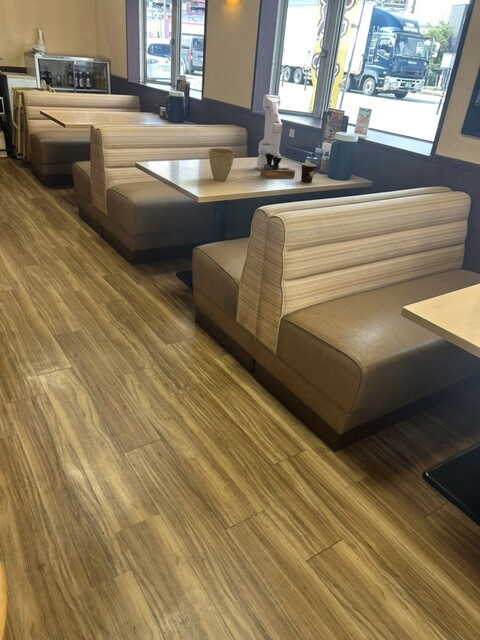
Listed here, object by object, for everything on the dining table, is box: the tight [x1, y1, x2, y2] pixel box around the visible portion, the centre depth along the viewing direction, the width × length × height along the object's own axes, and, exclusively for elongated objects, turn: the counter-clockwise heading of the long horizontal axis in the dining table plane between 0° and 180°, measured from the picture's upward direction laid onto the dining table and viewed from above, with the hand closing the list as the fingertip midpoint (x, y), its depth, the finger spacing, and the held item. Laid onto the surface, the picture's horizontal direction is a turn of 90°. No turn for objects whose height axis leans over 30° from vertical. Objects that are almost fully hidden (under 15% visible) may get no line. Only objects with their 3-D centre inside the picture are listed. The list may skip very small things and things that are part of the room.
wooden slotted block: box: [259, 167, 296, 179], centre depth 291 cm, size 8×20×4 cm, turn 115°
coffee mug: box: [300, 162, 319, 184], centre depth 286 cm, size 12×9×10 cm
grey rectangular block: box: [264, 164, 280, 170], centre depth 288 cm, size 3×9×6 cm, turn 116°
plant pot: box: [208, 147, 236, 182], centre depth 268 cm, size 15×15×16 cm
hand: (272, 167), depth 288 cm, fingers open, 7 cm apart
